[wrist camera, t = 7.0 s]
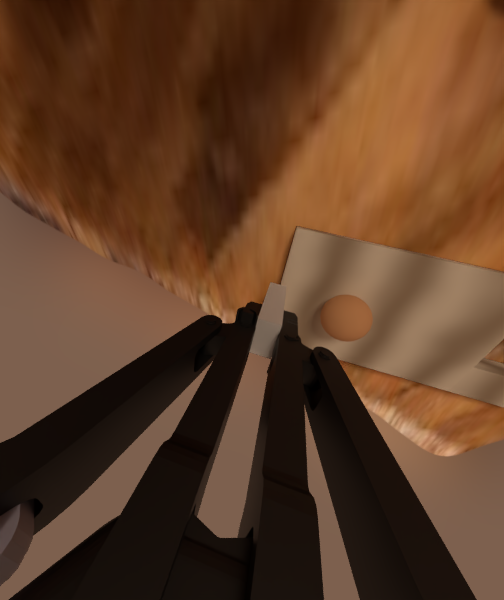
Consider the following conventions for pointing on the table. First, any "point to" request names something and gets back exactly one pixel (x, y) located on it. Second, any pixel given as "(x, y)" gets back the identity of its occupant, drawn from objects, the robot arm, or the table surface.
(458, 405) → the table surface
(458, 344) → the box with square hole
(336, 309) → the ball
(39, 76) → the table surface
